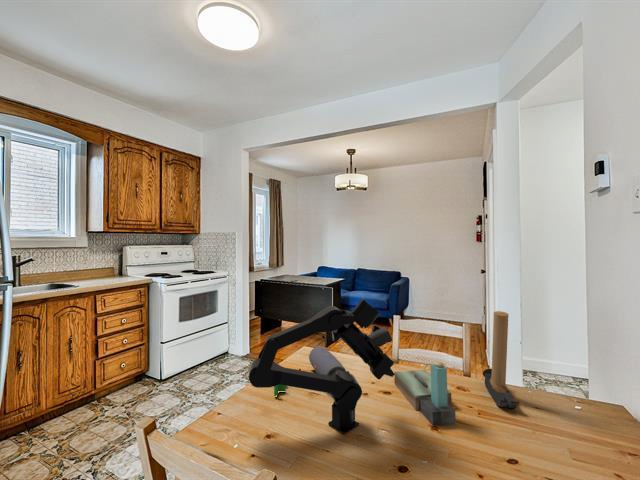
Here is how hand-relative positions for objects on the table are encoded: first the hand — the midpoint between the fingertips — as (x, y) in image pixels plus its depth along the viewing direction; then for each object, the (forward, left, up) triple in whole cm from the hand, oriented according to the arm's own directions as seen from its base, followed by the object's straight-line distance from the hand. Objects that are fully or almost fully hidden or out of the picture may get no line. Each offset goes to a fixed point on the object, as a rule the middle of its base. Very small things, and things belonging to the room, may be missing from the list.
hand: (393, 375), depth 90 cm
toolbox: (+17, -1, -13) cm, 22 cm away
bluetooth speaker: (+4, +34, -14) cm, 37 cm away
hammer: (+37, -16, -14) cm, 43 cm away
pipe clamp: (-13, +39, -14) cm, 44 cm away
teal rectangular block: (+12, -8, -13) cm, 20 cm away
